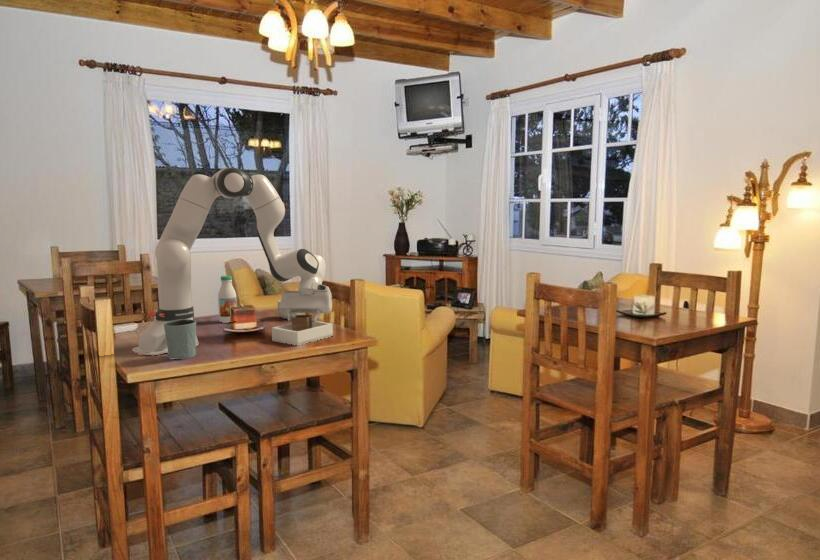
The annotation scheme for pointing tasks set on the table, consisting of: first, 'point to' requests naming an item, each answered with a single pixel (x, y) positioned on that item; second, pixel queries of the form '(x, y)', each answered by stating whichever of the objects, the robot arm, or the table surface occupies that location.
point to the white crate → (302, 333)
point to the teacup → (285, 315)
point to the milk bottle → (226, 299)
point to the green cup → (181, 338)
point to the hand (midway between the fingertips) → (301, 321)
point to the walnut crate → (301, 322)
